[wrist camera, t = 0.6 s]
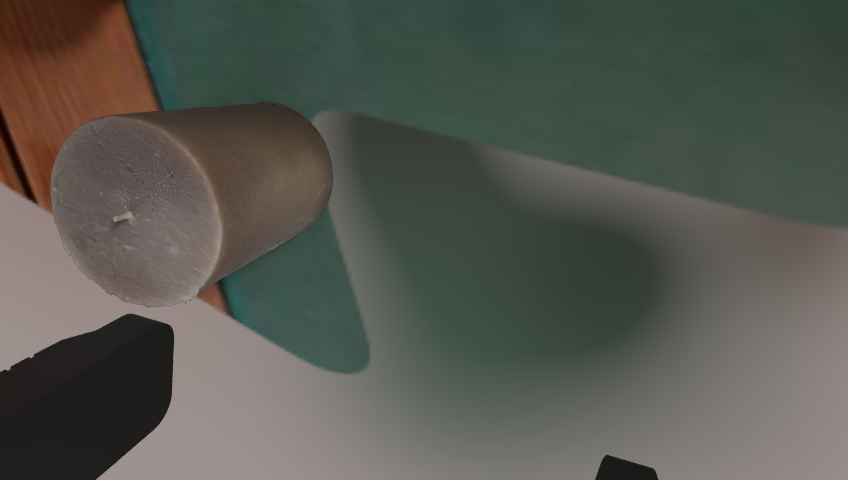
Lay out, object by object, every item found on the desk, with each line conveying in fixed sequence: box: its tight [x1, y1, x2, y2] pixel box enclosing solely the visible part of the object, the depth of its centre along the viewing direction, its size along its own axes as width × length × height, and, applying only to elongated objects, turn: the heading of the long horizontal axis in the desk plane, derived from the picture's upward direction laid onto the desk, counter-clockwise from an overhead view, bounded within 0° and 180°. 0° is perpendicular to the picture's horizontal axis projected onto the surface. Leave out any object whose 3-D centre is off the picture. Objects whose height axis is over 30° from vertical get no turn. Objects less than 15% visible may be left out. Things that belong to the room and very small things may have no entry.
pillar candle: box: [50, 102, 333, 307], centre depth 32 cm, size 10×10×15 cm
